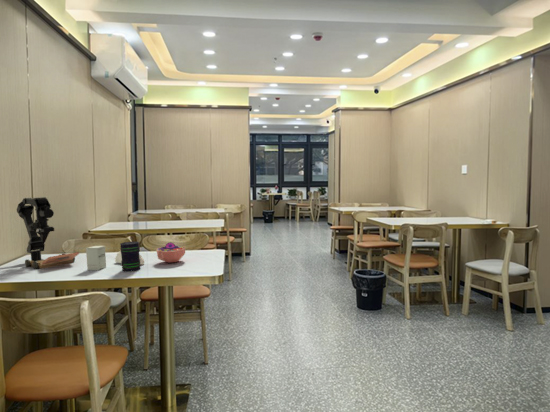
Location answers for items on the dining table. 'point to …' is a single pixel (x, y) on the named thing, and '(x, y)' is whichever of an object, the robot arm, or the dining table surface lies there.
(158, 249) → the cell model
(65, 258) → the panel
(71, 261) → the cart bed
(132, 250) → the storage jar
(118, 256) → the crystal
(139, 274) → the dining table surface
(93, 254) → the supplement box
